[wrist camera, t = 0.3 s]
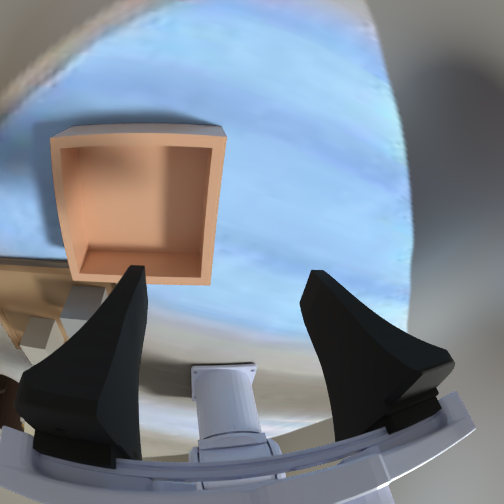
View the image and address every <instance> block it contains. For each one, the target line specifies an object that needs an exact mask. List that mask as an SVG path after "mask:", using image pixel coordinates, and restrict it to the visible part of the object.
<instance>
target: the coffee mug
mask: <svg viewBox="0 0 504 504" xmlns="http://www.w3.org/2000/svg"><path fill="white" fill-rule="evenodd" d="M18 386H19V383H18V382H16V381H15V380H13V379H11V378H9V377H7V376H4V375H0V437H1V432H2V426H7V427H10V428H13V429H16V430H19V431H22V432H24V419H23V418H22V417H21V416H20V415H19V414H18V413H17V412H16V410H15V408H14V402H15V398H16V394H17V390H18Z"/></svg>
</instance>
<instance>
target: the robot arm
mask: <svg viewBox="0 0 504 504" xmlns="http://www.w3.org/2000/svg"><path fill="white" fill-rule="evenodd" d="M300 308H301V312H302V316H303V320H304V323H305V326H306V328H307V331H308V333H309V336H310V338H311V341H312V343H313V346H314V348H315V351H316V353H317V356H318V358H319V361H320V364H321V367H322V370H323V374H324V377H325V381H326V385H327V390H328V394H329V399H330V404H331V410H332V416H333V423H334V431H335V443H331V444H327V445H323V446H319V447H315V448H310V449H306V450H301V451H296V452H290V453H285V454H282V453H281V450H280V448H279V445H278V444H277V443H276V442H275V441H273V440H272V439H266V436H265V433H262V431H261V427H260V423H259V418H258V413H257V409H256V404H255V400H254V395H253V390H252V386H251V385H252V382H253V379H254V376H255V373H256V370H257V365H256V364H241V365H214V366H192V367H191V383H192V401H194V402H196V405H197V416H198V426H199V435H200V440H198V446H199V447H193V448H192V450H191V451H190V452H189V462H154V461H153V462H152V461H142V454H141V444H140V431H139V405H138V386H139V368H140V361H141V354H142V348H143V342H144V335H145V330H146V324H147V310H148V297H147V286H146V274H145V266H143V265H130V266H129V267H128V268H127V270H126V271H125V273H124V274H123V276H122V277H121V279H120V280H119V282H118V283H117V285H116V286H115V287H114V289H113V290H112V291H111V293H110V294H109V295H108V297H107V298H106V299H105V301H104V302H103V303H102V304H101V306H100V307H99V308H98V309H97V311H96V312H95V313H94V314H93V315H92V316H91V318H90V319H89V320H88V321H87V322H86V323H85V324H84V325H83V326H82V327H81V328H80V329H79V330H78V331H77V332H76V333H75V334H74V335H73V336H72V337H71V338H70V339H69V340H68V341H66V342H65V343H64V344H63V345H62V346H60V347H59V348H58V349H57V350H55V351H54V352H53V353H52V354H50V355H49V356H48V357H46V358H45V359H43V360H42V361H41V362H39V363H37V364H36V365H34V366H33V367H31V368H30V369H28V370H26V371H25V372H23V374H22V377H21V379H20V382H19V386H18V390H17V394H16V398H15V402H14V408H15V410H16V412H17V413H18V414H19V415H20V416H21V417H22V418H23V419H24V420H25V421H26V422H27V423H28V424H29V425H30V426H31V427H33V428H34V429H35V434H34V437H33V436H32V435H29V434H27V433H25V432H22V431H19V430H16V429H13V428H10V427H7V426H2V432H1V438H0V486H1V487H3V488H5V489H8V490H10V491H12V492H15V493H17V494H19V495H22V496H24V497H27V498H29V499H32V500H34V501H37V502H40V503H43V504H395V503H394V500H393V497H392V494H391V492H390V489H389V486H388V484H390V482H391V481H394V480H395V479H397V478H399V477H401V476H403V475H405V474H407V473H409V472H411V471H413V470H414V469H416V468H418V467H420V466H422V465H423V464H425V463H427V462H428V461H430V460H432V459H433V458H435V457H436V456H438V455H439V454H441V453H443V452H444V451H446V450H447V449H448V448H450V447H452V446H453V445H455V444H456V443H457V442H459V441H460V440H462V439H463V438H464V437H466V436H467V435H469V434H470V433H471V432H473V431H474V430H475V429H476V426H475V424H474V422H473V421H472V418H471V416H470V415H469V413H468V411H467V409H466V407H465V405H464V403H463V402H462V400H461V398H460V396H459V394H458V393H457V391H454V392H452V393H450V394H449V395H447V396H445V397H443V398H441V399H440V400H437V398H436V396H437V395H438V393H439V392H438V390H437V388H436V387H437V386H438V385H439V384H440V383H441V382H442V381H443V380H444V379H445V378H446V377H447V376H448V375H449V374H450V373H451V372H452V370H453V369H454V366H455V362H454V360H453V359H452V357H451V356H450V354H449V353H448V351H447V350H445V349H443V348H440V347H437V346H434V345H431V344H429V343H426V342H424V341H422V340H420V339H417V338H415V337H413V336H411V335H409V334H408V333H406V332H404V331H402V330H400V329H399V328H397V327H395V326H394V325H392V324H390V323H389V322H387V321H386V320H384V319H383V318H382V317H380V316H379V315H377V314H376V313H374V312H373V311H372V310H371V309H369V308H368V307H367V306H365V305H364V304H363V303H362V302H361V301H359V300H358V299H357V298H356V297H355V296H353V295H352V294H351V293H350V292H349V291H348V290H346V289H345V288H344V287H343V286H342V285H341V284H340V283H338V282H337V281H336V280H335V279H334V278H333V277H331V276H330V275H329V274H328V273H326V272H325V271H324V270H311V272H310V275H309V278H308V281H307V284H306V286H305V289H304V292H303V295H302V297H301V300H300ZM349 456H350V457H349ZM346 457H347V458H346ZM342 458H345V459H343V460H342V461H341V462H340V463H339V464H337V465H335V466H333V467H329V468H325V469H322V470H317V471H313V472H309V473H305V474H300V475H296V476H291V477H287V478H285V477H286V475H285V473H286V472H290V471H296V470H300V469H305V468H309V467H313V466H317V465H321V464H325V463H329V462H332V461H336V460H339V459H342ZM182 482H192V483H182Z"/></svg>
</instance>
